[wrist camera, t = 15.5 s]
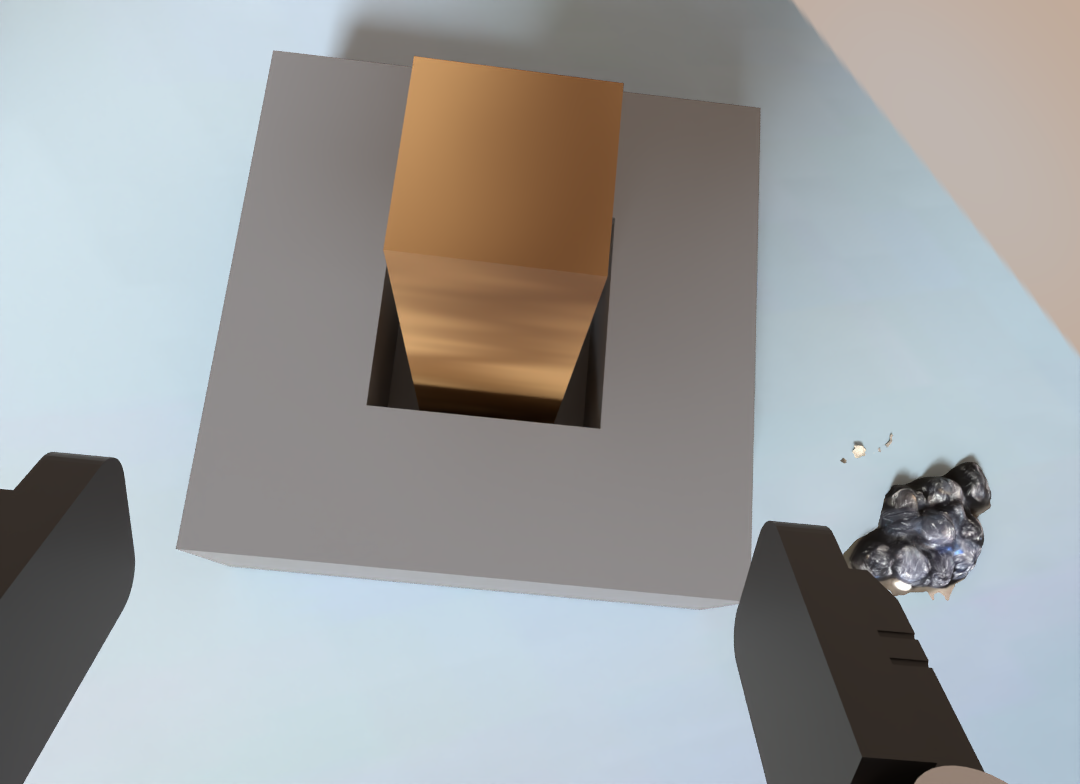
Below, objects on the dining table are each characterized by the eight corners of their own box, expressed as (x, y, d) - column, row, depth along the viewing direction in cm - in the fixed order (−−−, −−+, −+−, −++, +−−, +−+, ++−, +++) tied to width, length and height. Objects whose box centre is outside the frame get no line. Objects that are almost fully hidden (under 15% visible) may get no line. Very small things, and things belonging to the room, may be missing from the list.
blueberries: (750, 524, 29) (766, 519, 27) (914, 357, 30) (940, 342, 28) (907, 683, 28) (935, 690, 26) (1070, 504, 29) (1108, 499, 27)
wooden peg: (420, 416, 27) (383, 249, 16) (437, 294, 29) (414, 56, 17) (551, 430, 28) (607, 277, 16) (562, 308, 29) (623, 83, 17)
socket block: (229, 566, 26) (175, 548, 22) (304, 144, 30) (273, 50, 25) (700, 609, 27) (750, 601, 22) (715, 191, 31) (760, 107, 26)
